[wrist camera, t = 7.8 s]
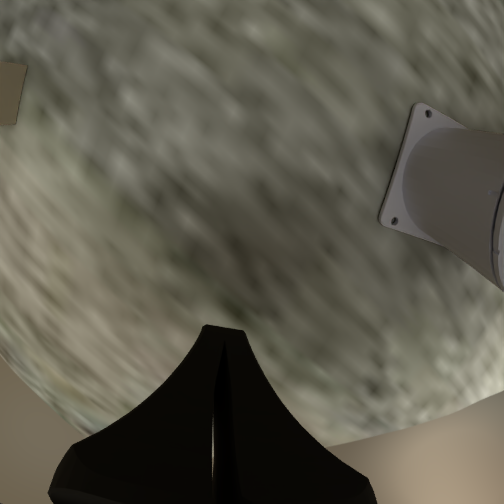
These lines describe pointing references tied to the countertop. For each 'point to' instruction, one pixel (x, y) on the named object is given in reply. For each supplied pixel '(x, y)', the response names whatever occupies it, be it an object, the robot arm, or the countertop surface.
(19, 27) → the countertop surface
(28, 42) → the countertop surface
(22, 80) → the rail assembly
